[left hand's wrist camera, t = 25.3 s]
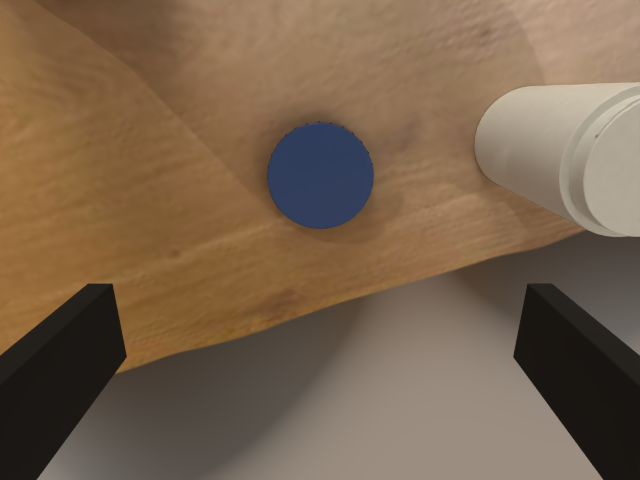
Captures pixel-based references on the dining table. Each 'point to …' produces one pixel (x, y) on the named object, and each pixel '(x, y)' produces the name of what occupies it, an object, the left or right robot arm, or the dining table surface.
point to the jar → (569, 152)
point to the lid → (320, 175)
